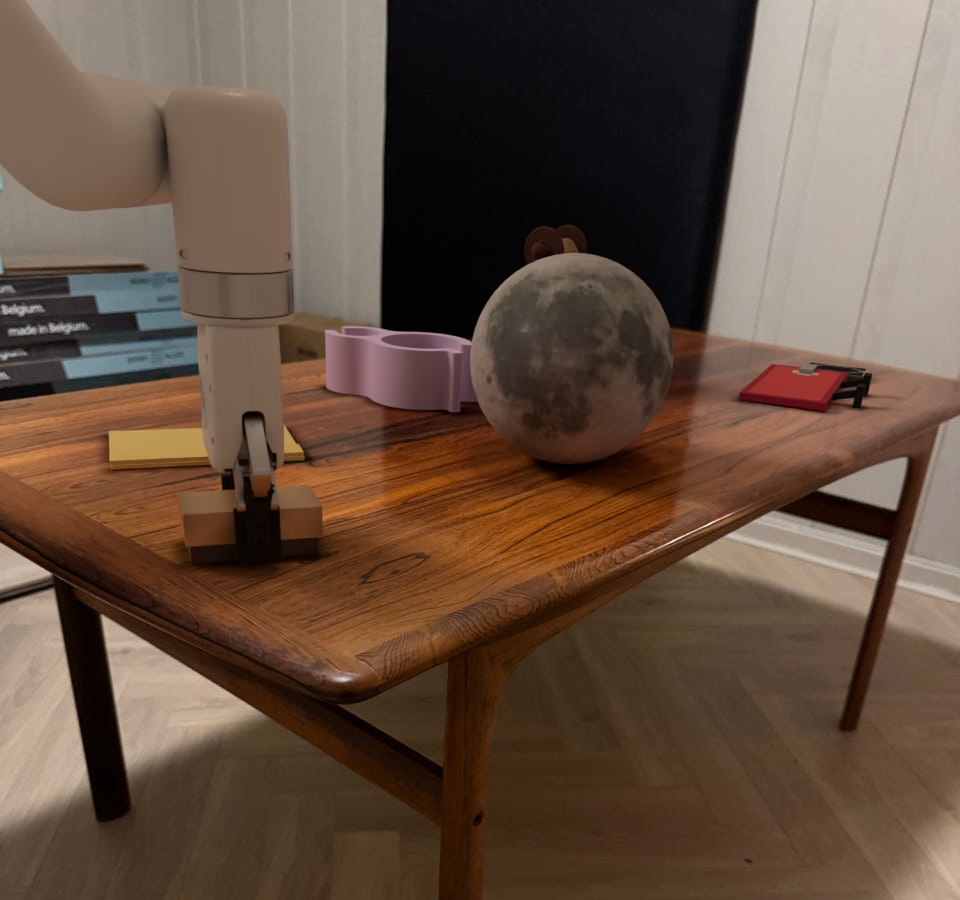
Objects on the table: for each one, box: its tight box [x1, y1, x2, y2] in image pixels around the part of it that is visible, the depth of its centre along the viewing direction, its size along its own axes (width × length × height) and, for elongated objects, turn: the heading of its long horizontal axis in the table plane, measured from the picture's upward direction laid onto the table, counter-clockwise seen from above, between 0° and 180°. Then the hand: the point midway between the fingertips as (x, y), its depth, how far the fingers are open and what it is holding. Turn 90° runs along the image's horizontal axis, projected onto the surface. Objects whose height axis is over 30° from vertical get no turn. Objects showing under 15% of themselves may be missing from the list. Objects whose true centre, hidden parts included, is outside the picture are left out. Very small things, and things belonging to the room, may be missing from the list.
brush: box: [177, 484, 324, 565], centre depth 72 cm, size 10×5×4 cm, turn 110°
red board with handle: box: [738, 362, 873, 411], centre depth 137 cm, size 30×3×15 cm
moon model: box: [470, 253, 675, 465], centre depth 94 cm, size 20×20×20 cm
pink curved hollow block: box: [324, 325, 478, 413], centre depth 119 cm, size 20×12×7 cm, turn 64°
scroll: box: [524, 224, 588, 265], centre depth 128 cm, size 15×15×20 cm
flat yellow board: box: [108, 424, 306, 471], centre depth 96 cm, size 18×12×1 cm, turn 110°
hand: (252, 538), depth 73 cm, fingers open, 7 cm apart
